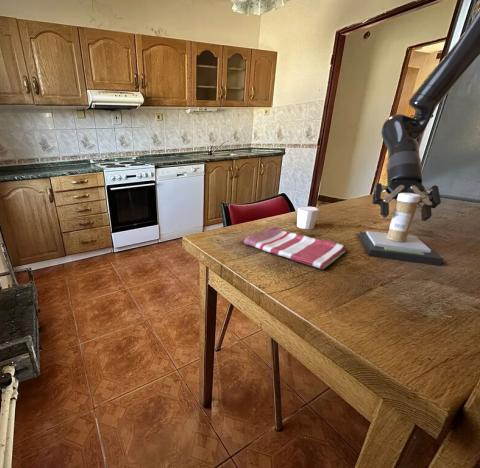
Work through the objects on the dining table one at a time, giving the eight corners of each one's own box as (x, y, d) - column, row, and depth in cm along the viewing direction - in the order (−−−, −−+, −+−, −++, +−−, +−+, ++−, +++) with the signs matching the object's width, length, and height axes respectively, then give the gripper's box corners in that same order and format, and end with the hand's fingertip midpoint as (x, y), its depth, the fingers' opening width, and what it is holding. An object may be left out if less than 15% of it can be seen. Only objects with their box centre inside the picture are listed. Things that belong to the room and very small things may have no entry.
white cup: (320, 228, 93) (324, 209, 90) (304, 230, 91) (308, 211, 89) (305, 222, 99) (308, 205, 97) (291, 224, 97) (293, 207, 95)
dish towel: (270, 232, 91) (271, 224, 90) (345, 252, 74) (348, 243, 73) (242, 245, 81) (243, 237, 80) (322, 272, 64) (324, 262, 63)
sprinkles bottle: (409, 240, 74) (424, 194, 69) (400, 243, 72) (415, 196, 67) (391, 235, 78) (404, 191, 73) (382, 238, 76) (395, 193, 71)
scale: (418, 244, 78) (421, 235, 77) (440, 265, 65) (444, 256, 64) (358, 237, 84) (360, 229, 83) (368, 256, 72) (371, 246, 71)
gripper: (378, 161, 76) (378, 208, 71) (443, 162, 70) (448, 213, 65) (370, 177, 82) (369, 221, 77) (428, 178, 77) (432, 227, 71)
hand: (405, 217), depth 71 cm, fingers open, 8 cm apart
